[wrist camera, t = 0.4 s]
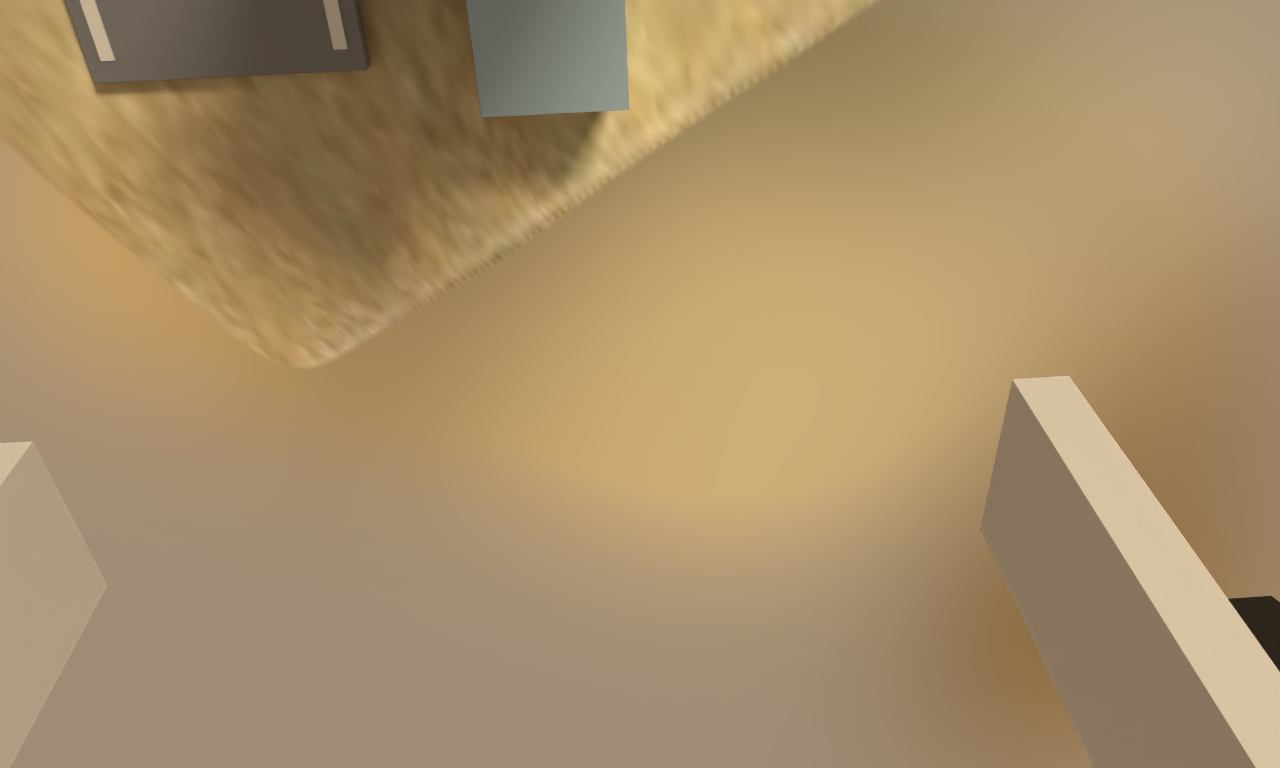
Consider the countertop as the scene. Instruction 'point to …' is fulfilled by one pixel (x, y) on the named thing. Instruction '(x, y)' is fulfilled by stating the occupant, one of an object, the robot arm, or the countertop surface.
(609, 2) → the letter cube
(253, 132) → the countertop surface
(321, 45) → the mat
